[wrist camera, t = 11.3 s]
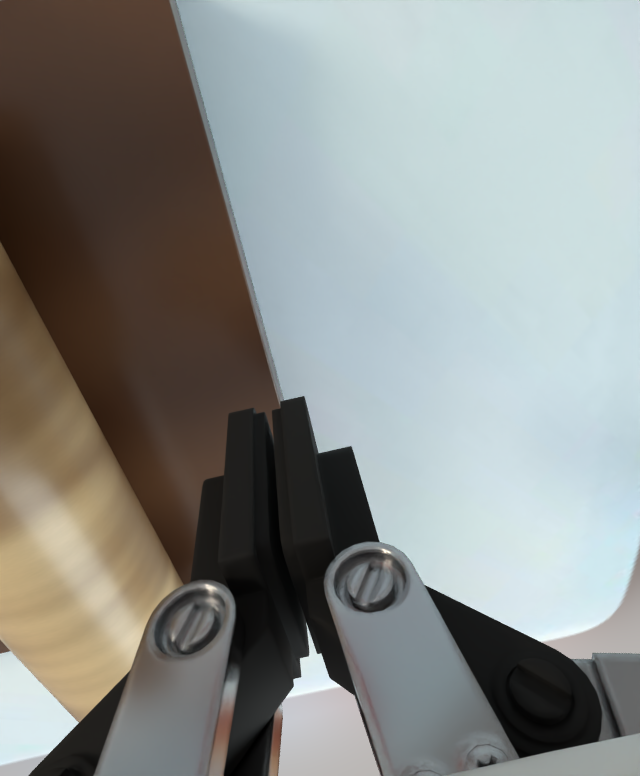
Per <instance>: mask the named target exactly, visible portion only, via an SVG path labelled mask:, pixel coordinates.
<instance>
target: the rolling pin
mask: <svg viewBox="0 0 640 776" xmlns="http://www.w3.org/2000/svg"><path fill="white" fill-rule="evenodd" d="M183 585H184V584H183V583H182V581H181V579H180V577H179V575H178V573H177V571H176V569H175V568H174V566H173V564H172V562H171V560H170V558H169V556H168V554H167V553H166V551H165V549H164V547H163V545H162V543H161V541H160V539H159V538H158V536H157V534H156V532H155V530H154V528H153V526H152V525H151V523H150V521H149V519H148V517H147V515H146V513H145V511H144V510H143V508H142V506H141V504H140V502H139V500H138V498H137V496H136V495H135V493H134V491H133V489H132V487H131V485H130V483H129V481H128V480H127V478H126V476H125V474H124V472H123V470H122V468H121V467H120V465H119V463H118V461H117V459H116V457H115V455H114V453H113V452H112V450H111V448H110V446H109V444H108V442H107V440H106V438H105V437H104V435H103V433H102V431H101V429H100V427H99V425H98V423H97V422H96V420H95V418H94V416H93V414H92V412H91V410H90V408H89V407H88V405H87V403H86V401H85V399H84V397H83V395H82V394H81V392H80V390H79V388H78V386H77V384H76V382H75V380H74V379H73V377H72V375H71V373H70V371H69V369H68V367H67V365H66V364H65V362H64V360H63V358H62V356H61V354H60V352H59V350H58V349H57V347H56V345H55V343H54V341H53V339H52V337H51V336H50V334H49V332H48V330H47V328H46V326H45V324H44V322H43V321H42V319H41V317H40V315H39V313H38V311H37V309H36V307H35V306H34V304H33V302H32V300H31V298H30V296H29V294H28V292H27V291H26V289H25V287H24V285H23V283H22V281H21V279H20V277H19V276H18V274H17V272H16V270H15V268H14V266H13V264H12V263H11V261H10V259H9V257H8V255H7V253H6V251H5V249H4V248H3V246H2V244H1V242H0V640H1V641H2V642H3V643H4V644H5V646H6V647H7V648H8V649H9V650H10V651H11V652H12V653H13V654H14V655H15V656H16V657H17V658H18V659H19V660H20V661H21V662H22V663H23V664H24V666H25V667H26V668H27V669H28V670H29V671H30V672H31V673H32V674H33V675H34V676H35V677H36V678H37V679H38V680H39V681H40V682H41V683H42V685H43V686H44V687H45V688H46V689H47V690H48V691H49V692H50V693H51V694H52V695H53V696H54V697H55V698H56V699H57V700H58V701H59V702H60V703H61V705H62V706H63V707H64V708H65V709H66V710H67V711H68V712H69V713H70V714H71V715H72V716H73V717H74V718H75V719H76V720H77V721H78V722H80V721H81V720H82V719H83V718H84V717H85V716H86V715H87V714H88V713H89V712H90V711H91V710H92V709H93V708H94V707H95V706H96V705H97V704H98V703H99V702H100V701H101V700H102V699H103V698H104V697H105V696H106V695H107V694H108V693H109V692H110V691H111V689H112V688H113V687H114V686H115V685H116V684H117V683H118V682H119V681H120V680H121V679H122V678H123V677H124V676H125V675H126V674H127V673H128V672H129V671H130V670H131V667H132V664H133V661H134V658H135V655H136V652H137V649H138V647H139V644H140V641H141V638H142V635H143V632H144V629H145V626H146V624H147V622H148V620H149V618H150V616H151V614H152V612H153V610H154V609H155V608H156V607H157V605H158V604H159V603H160V602H161V600H162V599H163V598H165V597H166V596H167V595H168V594H170V593H171V592H172V591H173V590H175V589H177V588H179V587H181V586H183Z"/></svg>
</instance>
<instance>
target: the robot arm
mask: <svg viewBox="0 0 640 776" xmlns="http://www.w3.org/2000/svg"><path fill="white" fill-rule="evenodd" d="M272 422H273V436H272V432H271V429H270V426H269V422H268V419H267V416H266V413H265V412H261V413H256V411H255V409H254V408H249V409H245V410H241V411H236V412H232V413H229V415H228V426H227V440H226V454H225V468H224V475H222V476H218V477H213V478H209V479H205V481H204V482H203V486H202V493H201V500H200V508H199V516H198V524H197V532H196V540H195V548H194V556H193V563H192V571H191V579H190V583H187V584H185V585H183V586H181V587H179V588H177V589H175V590H173V591H172V592H171V593H170V594H168V595H167V596H166V597H165V598H163V599H162V600H161V602H160V603H159V604H158V605H157V607H156V608H155V609H154V610H153V612H152V614H151V616H150V618H149V620H148V622H147V624H146V626H145V629H144V632H143V635H142V638H141V641H140V644H139V647H138V649H137V652H136V655H135V658H134V661H133V664H132V667H131V670H130V671H129V672H128V673H127V674H126V675H125V676H124V677H123V678H122V679H121V680H120V681H119V682H118V683H117V684H116V685H115V686H114V687H113V688H112V689H111V691H110V692H109V693H108V694H107V695H106V696H105V697H104V698H103V699H102V700H101V701H100V702H99V703H98V704H97V705H96V706H95V707H94V708H93V709H92V710H91V711H90V712H89V713H88V714H87V715H86V716H85V717H84V718H83V719H82V720H81V721H80V722H79V724H78V725H77V726H76V727H75V728H74V729H73V730H72V731H71V732H70V733H69V734H68V735H67V736H66V737H65V738H64V739H63V740H62V741H61V742H60V743H59V744H58V745H57V746H56V747H55V748H54V749H53V750H52V751H51V752H50V753H49V754H48V756H47V757H46V758H45V759H44V760H43V761H42V762H41V763H40V764H39V765H38V766H37V767H36V768H35V769H34V770H33V771H32V772H31V773H30V775H29V776H278V769H279V757H280V745H281V732H282V720H283V715H282V704H281V703H282V702H283V700H284V699H285V698H286V696H287V695H288V693H289V692H290V691H291V689H292V688H293V686H294V683H293V679H295V678H299V677H301V668H300V658H303V657H307V656H309V645H308V635H307V626H306V622H307V625H308V628H309V631H310V634H311V637H312V640H313V643H314V646H315V649H316V652H317V654H320V653H322V656H323V659H324V662H325V665H326V668H327V671H328V674H329V677H330V678H331V679H332V680H333V681H335V682H336V683H338V684H339V685H340V686H342V687H343V688H345V689H346V690H348V691H349V692H350V693H352V694H353V695H355V699H356V702H357V705H358V708H359V711H360V714H361V717H362V720H363V723H364V727H365V729H366V733H367V736H368V739H369V742H370V745H371V748H372V751H373V754H374V757H375V760H376V764H377V767H378V770H379V773H380V776H640V654H632V653H631V654H630V653H628V654H627V653H624V654H623V653H593V654H592V659H570V658H568V657H566V656H565V655H563V654H562V653H560V652H559V651H557V650H555V649H553V648H551V647H549V646H547V645H545V644H543V643H541V642H539V641H537V640H535V639H533V638H531V637H529V636H527V635H525V634H523V633H521V632H519V631H517V630H515V629H513V628H511V627H509V626H507V625H505V624H503V623H501V622H499V621H497V620H494V619H492V618H490V617H488V616H486V615H484V614H482V613H480V612H478V611H476V610H474V609H472V608H470V607H468V606H466V605H464V604H462V603H460V602H458V601H456V600H454V599H452V598H450V597H448V596H446V595H444V594H442V593H440V592H438V591H436V590H434V589H431V588H429V587H427V586H425V585H424V584H423V582H422V580H421V579H420V577H419V575H418V573H417V571H416V569H415V568H414V566H413V564H412V563H411V561H410V560H409V559H408V557H407V556H406V555H405V554H404V553H403V552H402V551H400V550H398V549H397V548H395V547H394V546H391V545H388V544H385V543H382V542H379V539H378V535H377V532H376V528H375V525H374V522H373V518H372V515H371V511H370V508H369V504H368V501H367V498H366V494H365V491H364V487H363V484H362V480H361V477H360V474H359V470H358V467H357V463H356V460H355V456H354V453H353V450H352V447H351V446H350V447H345V448H341V449H336V450H332V451H328V452H323V453H319V454H318V450H317V446H316V441H315V437H314V433H313V429H312V425H311V421H310V417H309V413H308V409H307V405H306V401H305V397H304V396H302V397H298V398H294V399H289V400H285V401H280V408H279V409H275V410H272ZM273 437H274V439H273Z"/></svg>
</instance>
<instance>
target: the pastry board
mask: <svg viewBox="0 0 640 776" xmlns="http://www.w3.org/2000/svg"><path fill="white" fill-rule="evenodd" d="M0 242H1V244H2V246H3V248H4V249H5V251H6V253H7V255H8V257H9V259H10V261H11V263H12V264H13V266H14V268H15V270H16V272H17V274H18V276H19V277H20V279H21V281H22V283H23V285H24V287H25V289H26V291H27V292H28V294H29V296H30V298H31V300H32V302H33V304H34V306H35V307H36V309H37V311H38V313H39V315H40V317H41V319H42V321H43V322H44V324H45V326H46V328H47V330H48V332H49V334H50V336H51V337H52V339H53V341H54V343H55V345H56V347H57V349H58V350H59V352H60V354H61V356H62V358H63V360H64V362H65V364H66V365H67V367H68V369H69V371H70V373H71V375H72V377H73V379H74V380H75V382H76V384H77V386H78V388H79V390H80V392H81V394H82V395H83V397H84V399H85V401H86V403H87V405H88V407H89V408H90V410H91V412H92V414H93V416H94V418H95V420H96V422H97V423H98V425H99V427H100V429H101V431H102V433H103V435H104V437H105V438H106V440H107V442H108V444H109V446H110V448H111V450H112V452H113V453H114V455H115V457H116V459H117V461H118V463H119V465H120V467H121V468H122V470H123V472H124V474H125V476H126V478H127V480H128V481H129V483H130V485H131V487H132V489H133V491H134V493H135V495H136V496H137V498H138V500H139V502H140V504H141V506H142V508H143V510H144V511H145V513H146V515H147V517H148V519H149V521H150V523H151V525H152V526H153V528H154V530H155V532H156V534H157V536H158V538H159V539H160V541H161V543H162V545H163V547H164V549H165V551H166V553H167V554H168V556H169V558H170V560H171V562H172V564H173V566H174V568H175V569H176V571H177V573H178V575H179V577H180V579H181V581H182V583H183V584H184V585H185V584H187V583H190V579H191V571H192V563H193V556H194V548H195V540H196V532H197V524H198V516H199V508H200V500H201V493H202V486H203V482H204V481H205V479H209V478H213V477H218V476H222V475H224V468H225V454H226V440H227V426H228V415H229V413H232V412H236V411H241V410H245V409H249V408H254V409H255V411H256V413H261V412H265V413H266V416H267V419H268V422H269V426H270V429H271V432H272V436H273V422H272V410H275V409H279V408H280V401H284V399H283V395H282V391H281V388H280V384H279V380H278V376H277V373H276V369H275V365H274V362H273V358H272V354H271V351H270V347H269V343H268V340H267V336H266V332H265V328H264V325H263V321H262V317H261V314H260V310H259V306H258V303H257V299H256V295H255V291H254V288H253V284H252V280H251V277H250V273H249V269H248V266H247V262H246V258H245V255H244V251H243V247H242V243H241V240H240V236H239V232H238V229H237V225H236V221H235V218H234V214H233V210H232V206H231V203H230V199H229V195H228V192H227V188H226V184H225V181H224V177H223V173H222V170H221V166H220V162H219V158H218V155H217V151H216V147H215V144H214V140H213V136H212V133H211V129H210V125H209V121H208V118H207V114H206V110H205V107H204V103H203V99H202V96H201V92H200V88H199V85H198V81H197V77H196V73H195V70H194V66H193V62H192V59H191V55H190V51H189V48H188V44H187V40H186V36H185V33H184V29H183V25H182V22H181V18H180V14H179V11H178V7H177V3H176V0H0ZM273 439H274V437H273ZM9 651H10V650H9V649H8V648H7V647H6V646H5V644H4V643H3V642H2V641H1V640H0V653H5V652H9Z"/></svg>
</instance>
